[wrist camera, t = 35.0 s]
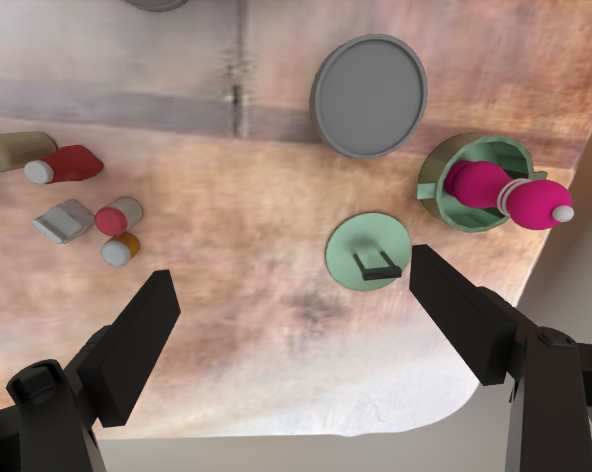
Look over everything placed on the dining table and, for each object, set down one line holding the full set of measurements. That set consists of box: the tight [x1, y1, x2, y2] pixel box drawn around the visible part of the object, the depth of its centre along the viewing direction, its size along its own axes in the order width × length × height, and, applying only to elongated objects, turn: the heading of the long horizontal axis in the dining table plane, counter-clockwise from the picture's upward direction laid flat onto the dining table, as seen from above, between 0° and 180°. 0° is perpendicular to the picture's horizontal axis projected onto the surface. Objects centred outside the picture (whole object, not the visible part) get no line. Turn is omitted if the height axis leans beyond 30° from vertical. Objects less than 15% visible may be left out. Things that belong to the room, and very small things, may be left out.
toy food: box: [0, 132, 143, 266], centre depth 42 cm, size 27×13×12 cm, turn 39°
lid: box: [326, 212, 411, 291], centre depth 50 cm, size 16×16×9 cm
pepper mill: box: [444, 161, 574, 230], centre depth 41 cm, size 7×7×20 cm
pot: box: [414, 133, 547, 233], centre depth 47 cm, size 15×20×6 cm
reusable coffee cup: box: [310, 34, 428, 159], centre depth 38 cm, size 13×13×15 cm
